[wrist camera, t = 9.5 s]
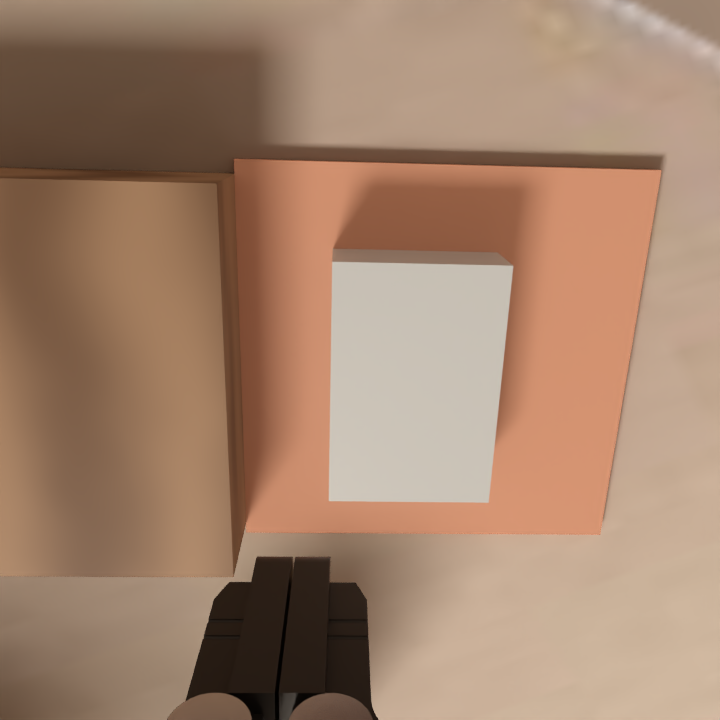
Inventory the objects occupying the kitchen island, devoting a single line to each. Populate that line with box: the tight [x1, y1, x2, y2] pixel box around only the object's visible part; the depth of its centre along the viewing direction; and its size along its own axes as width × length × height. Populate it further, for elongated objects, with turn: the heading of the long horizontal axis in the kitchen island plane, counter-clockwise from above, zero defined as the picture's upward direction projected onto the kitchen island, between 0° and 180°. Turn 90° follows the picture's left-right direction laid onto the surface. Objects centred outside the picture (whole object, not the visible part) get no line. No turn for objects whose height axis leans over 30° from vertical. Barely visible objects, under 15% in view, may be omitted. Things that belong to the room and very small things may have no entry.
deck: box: [0, 167, 246, 577], centre depth 24 cm, size 10×14×4 cm
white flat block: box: [329, 249, 513, 503], centre depth 25 cm, size 6×9×2 cm, turn 178°
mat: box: [234, 159, 662, 535], centre depth 26 cm, size 15×15×1 cm
